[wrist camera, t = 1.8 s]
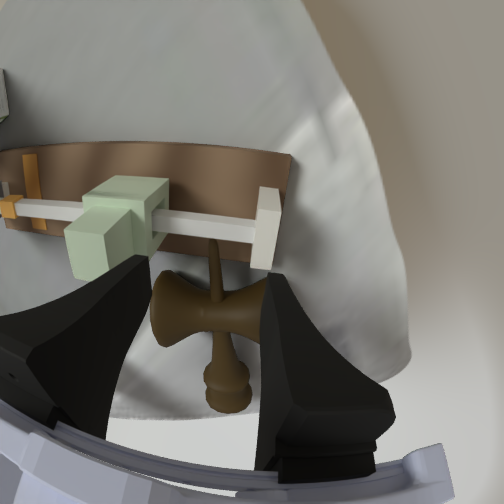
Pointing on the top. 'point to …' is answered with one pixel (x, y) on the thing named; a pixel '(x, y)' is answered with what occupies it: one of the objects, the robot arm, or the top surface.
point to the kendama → (210, 327)
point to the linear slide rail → (174, 221)
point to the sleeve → (116, 224)
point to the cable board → (149, 165)
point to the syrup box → (3, 98)
